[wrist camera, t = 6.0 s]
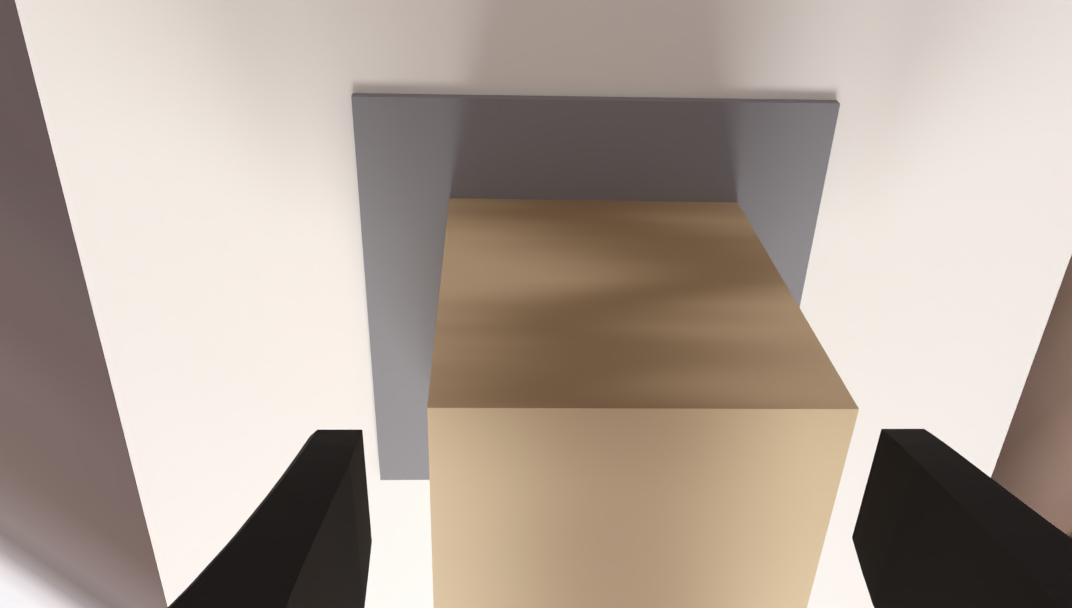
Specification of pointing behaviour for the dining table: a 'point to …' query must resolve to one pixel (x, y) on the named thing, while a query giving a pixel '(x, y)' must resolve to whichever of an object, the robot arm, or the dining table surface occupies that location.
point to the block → (625, 412)
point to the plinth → (542, 174)
